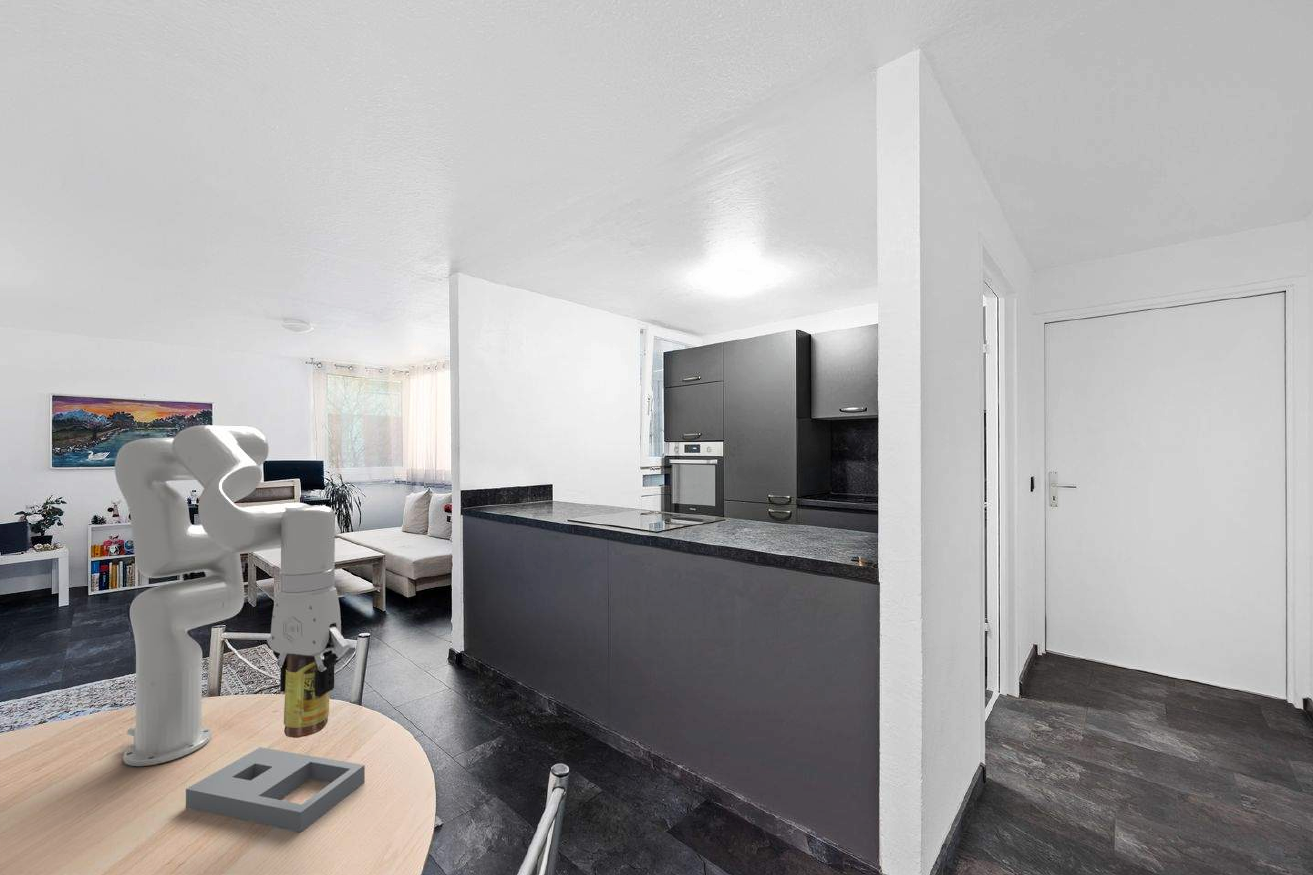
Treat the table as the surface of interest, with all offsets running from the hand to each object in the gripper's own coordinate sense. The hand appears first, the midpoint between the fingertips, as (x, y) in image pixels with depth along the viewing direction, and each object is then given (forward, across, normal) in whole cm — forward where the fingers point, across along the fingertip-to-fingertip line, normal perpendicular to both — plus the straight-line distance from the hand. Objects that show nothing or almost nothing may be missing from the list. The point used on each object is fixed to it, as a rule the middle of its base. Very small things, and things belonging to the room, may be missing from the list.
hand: (307, 689), depth 89 cm
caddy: (+18, -6, 0) cm, 19 cm away
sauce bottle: (+7, 0, 0) cm, 7 cm away
